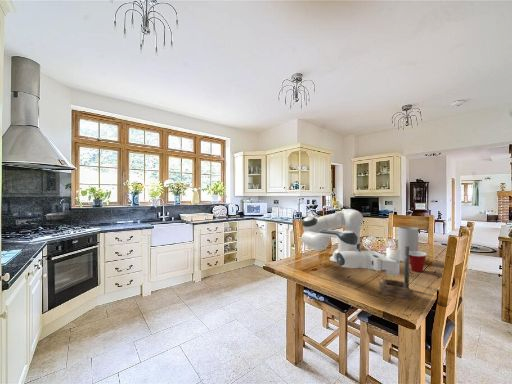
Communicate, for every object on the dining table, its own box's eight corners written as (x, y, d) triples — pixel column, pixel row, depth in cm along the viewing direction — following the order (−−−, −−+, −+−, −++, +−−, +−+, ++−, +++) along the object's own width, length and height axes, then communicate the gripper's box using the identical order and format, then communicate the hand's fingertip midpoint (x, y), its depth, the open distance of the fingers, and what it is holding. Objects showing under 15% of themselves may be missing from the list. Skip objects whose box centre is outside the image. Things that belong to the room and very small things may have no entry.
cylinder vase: (416, 264, 163) (416, 230, 163) (396, 261, 172) (396, 228, 171) (419, 260, 172) (419, 227, 172) (400, 257, 181) (400, 226, 181)
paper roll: (386, 274, 120) (386, 249, 120) (385, 270, 125) (386, 247, 125) (400, 276, 117) (400, 251, 117) (398, 272, 122) (399, 248, 122)
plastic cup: (402, 268, 156) (403, 250, 156) (417, 267, 157) (417, 250, 157) (415, 274, 146) (415, 255, 145) (431, 273, 146) (431, 254, 146)
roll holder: (380, 294, 118) (380, 249, 117) (379, 283, 130) (379, 243, 130) (412, 299, 111) (413, 252, 111) (408, 288, 124) (408, 246, 124)
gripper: (359, 259, 131) (383, 259, 131) (379, 272, 111) (407, 272, 111) (359, 248, 131) (383, 248, 131) (379, 259, 111) (407, 259, 111)
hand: (394, 259), depth 121 cm, fingers closed on paper roll, 6 cm apart
